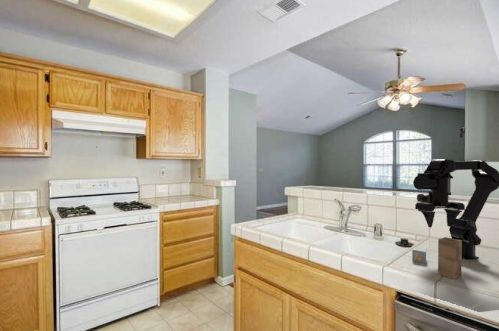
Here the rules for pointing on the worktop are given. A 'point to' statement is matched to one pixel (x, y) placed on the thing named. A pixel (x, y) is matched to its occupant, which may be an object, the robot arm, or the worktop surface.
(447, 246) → the walnut post
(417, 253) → the letter block
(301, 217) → the worktop surface
